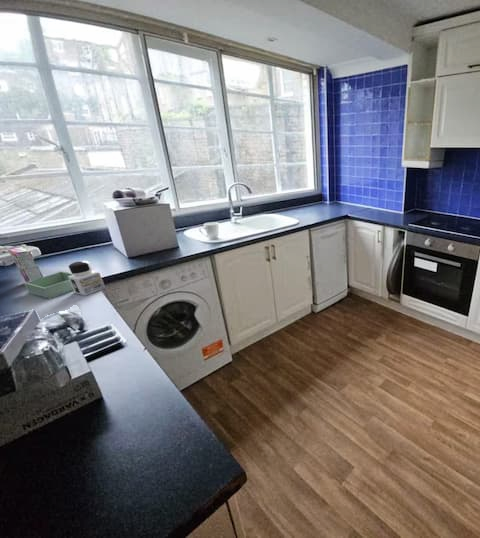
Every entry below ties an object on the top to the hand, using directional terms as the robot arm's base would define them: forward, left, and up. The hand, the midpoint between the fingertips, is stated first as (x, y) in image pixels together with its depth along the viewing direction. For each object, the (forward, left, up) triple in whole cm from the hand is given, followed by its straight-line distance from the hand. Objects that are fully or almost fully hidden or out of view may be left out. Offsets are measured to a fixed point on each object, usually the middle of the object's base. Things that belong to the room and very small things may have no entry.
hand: (18, 259), depth 134 cm
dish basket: (0, -25, -11) cm, 27 cm away
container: (+4, -41, -11) cm, 42 cm away
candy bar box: (0, -7, -11) cm, 13 cm away
